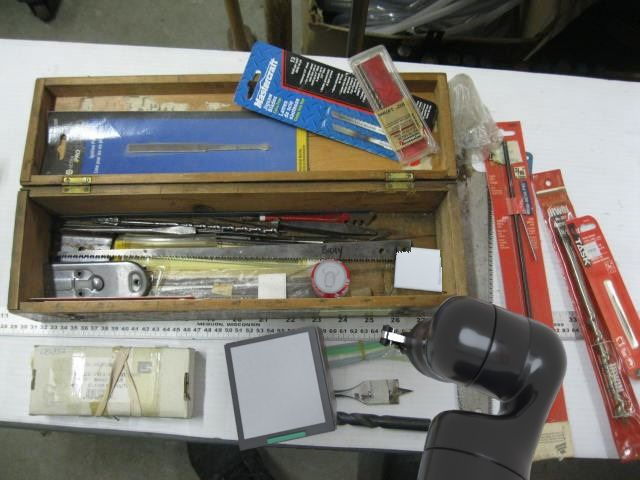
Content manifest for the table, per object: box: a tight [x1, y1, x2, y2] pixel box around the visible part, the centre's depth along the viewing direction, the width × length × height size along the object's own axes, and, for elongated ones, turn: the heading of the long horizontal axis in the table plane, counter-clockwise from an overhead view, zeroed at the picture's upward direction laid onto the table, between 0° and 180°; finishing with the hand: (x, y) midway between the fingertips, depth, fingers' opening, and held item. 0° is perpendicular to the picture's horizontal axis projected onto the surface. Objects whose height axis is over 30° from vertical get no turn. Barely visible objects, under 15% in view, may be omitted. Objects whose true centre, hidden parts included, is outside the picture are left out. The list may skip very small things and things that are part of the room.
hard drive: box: [393, 246, 443, 293], centre depth 89 cm, size 2×8×12 cm
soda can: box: [310, 258, 351, 299], centre depth 84 cm, size 7×7×12 cm
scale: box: [223, 325, 336, 452], centre depth 61 cm, size 14×13×3 cm
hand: (418, 346), depth 69 cm, fingers closed on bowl, 5 cm apart
